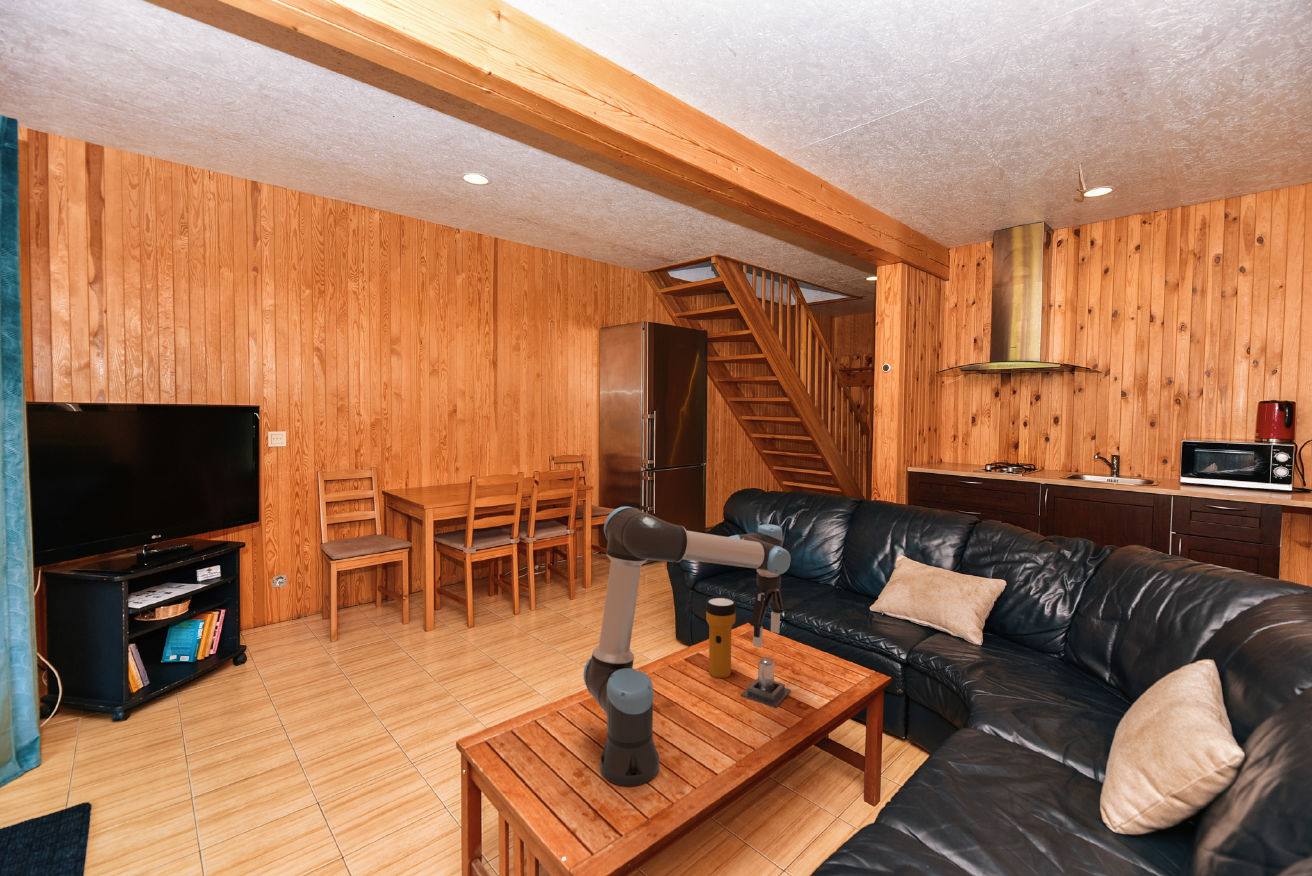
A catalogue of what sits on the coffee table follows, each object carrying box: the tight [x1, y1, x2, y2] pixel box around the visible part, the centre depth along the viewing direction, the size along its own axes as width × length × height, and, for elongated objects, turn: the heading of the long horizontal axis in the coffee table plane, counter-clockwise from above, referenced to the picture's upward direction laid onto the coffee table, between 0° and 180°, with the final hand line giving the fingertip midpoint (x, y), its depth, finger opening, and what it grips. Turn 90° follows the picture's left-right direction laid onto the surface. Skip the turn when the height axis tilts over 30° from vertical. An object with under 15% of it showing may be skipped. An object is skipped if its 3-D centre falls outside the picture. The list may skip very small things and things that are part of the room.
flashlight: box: [705, 595, 737, 679], centre depth 194 cm, size 10×26×10 cm
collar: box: [740, 677, 792, 709], centre depth 181 cm, size 12×12×3 cm
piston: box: [757, 657, 775, 693], centre depth 180 cm, size 5×5×11 cm
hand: (766, 639), depth 180 cm, fingers open, 13 cm apart
